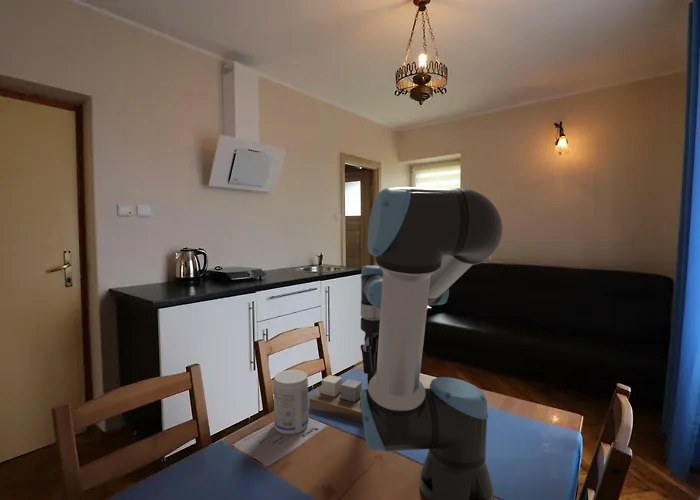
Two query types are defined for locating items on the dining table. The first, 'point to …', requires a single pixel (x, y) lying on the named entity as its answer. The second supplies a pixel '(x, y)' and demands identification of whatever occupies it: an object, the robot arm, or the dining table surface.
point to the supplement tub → (290, 401)
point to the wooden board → (337, 406)
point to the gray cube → (351, 390)
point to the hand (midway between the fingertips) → (372, 393)
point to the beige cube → (331, 385)
